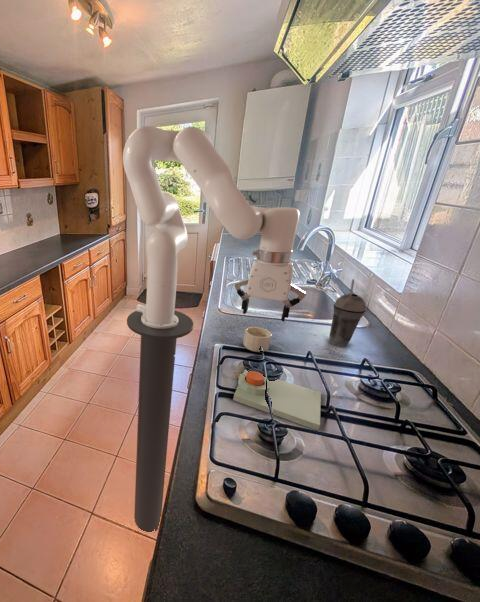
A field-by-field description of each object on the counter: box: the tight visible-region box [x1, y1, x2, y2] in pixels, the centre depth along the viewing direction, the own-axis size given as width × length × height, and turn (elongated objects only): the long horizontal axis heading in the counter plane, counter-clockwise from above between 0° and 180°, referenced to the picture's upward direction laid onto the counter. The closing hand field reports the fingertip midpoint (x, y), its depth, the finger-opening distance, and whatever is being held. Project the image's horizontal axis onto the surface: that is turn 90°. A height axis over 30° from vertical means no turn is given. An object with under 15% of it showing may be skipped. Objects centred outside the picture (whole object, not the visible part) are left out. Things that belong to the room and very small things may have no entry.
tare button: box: [246, 370, 264, 386], centre depth 70 cm, size 4×4×2 cm
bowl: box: [242, 326, 273, 353], centre depth 88 cm, size 7×7×5 cm
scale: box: [232, 369, 322, 431], centre depth 68 cm, size 16×12×3 cm
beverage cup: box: [328, 278, 367, 348], centre depth 87 cm, size 7×7×20 cm
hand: (263, 315), depth 85 cm, fingers open, 9 cm apart
